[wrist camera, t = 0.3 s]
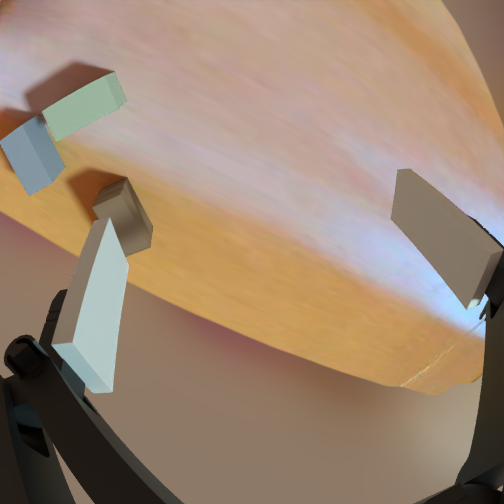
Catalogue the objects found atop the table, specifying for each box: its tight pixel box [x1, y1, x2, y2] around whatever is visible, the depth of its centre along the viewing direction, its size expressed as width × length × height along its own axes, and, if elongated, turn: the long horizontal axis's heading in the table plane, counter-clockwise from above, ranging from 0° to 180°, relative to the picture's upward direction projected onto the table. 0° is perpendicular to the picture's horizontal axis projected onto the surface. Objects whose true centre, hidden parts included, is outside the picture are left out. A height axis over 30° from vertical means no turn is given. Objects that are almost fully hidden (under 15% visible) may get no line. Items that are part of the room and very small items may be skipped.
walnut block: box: [92, 178, 153, 257], centre depth 38 cm, size 8×4×5 cm, turn 16°
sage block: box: [42, 72, 127, 142], centre depth 29 cm, size 8×4×5 cm, turn 106°
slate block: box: [0, 115, 65, 196], centre depth 31 cm, size 8×4×5 cm, turn 16°
